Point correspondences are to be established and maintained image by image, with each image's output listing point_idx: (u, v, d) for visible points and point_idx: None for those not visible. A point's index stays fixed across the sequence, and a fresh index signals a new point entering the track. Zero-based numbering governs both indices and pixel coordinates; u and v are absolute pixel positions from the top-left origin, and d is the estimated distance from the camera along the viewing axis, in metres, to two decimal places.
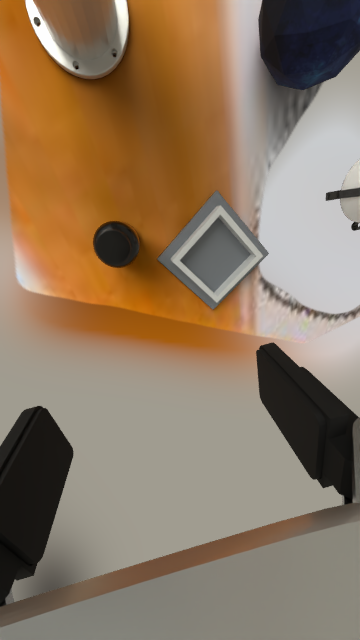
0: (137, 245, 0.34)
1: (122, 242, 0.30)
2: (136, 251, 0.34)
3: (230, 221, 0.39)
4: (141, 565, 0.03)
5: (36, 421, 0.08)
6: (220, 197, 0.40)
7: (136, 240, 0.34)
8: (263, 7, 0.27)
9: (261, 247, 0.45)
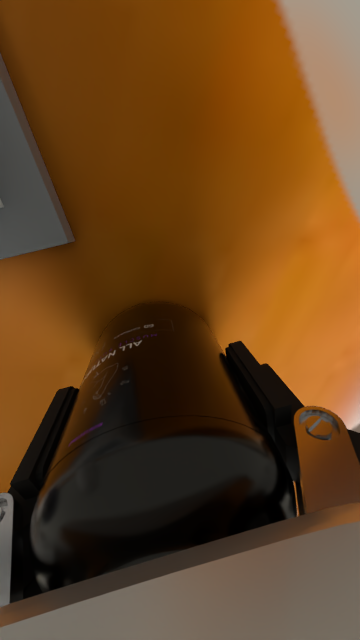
0: (41, 522, 0.04)
1: None
2: (67, 509, 0.04)
3: None
4: (141, 565, 0.03)
5: (71, 399, 0.09)
6: None
7: (31, 544, 0.05)
8: None
9: None
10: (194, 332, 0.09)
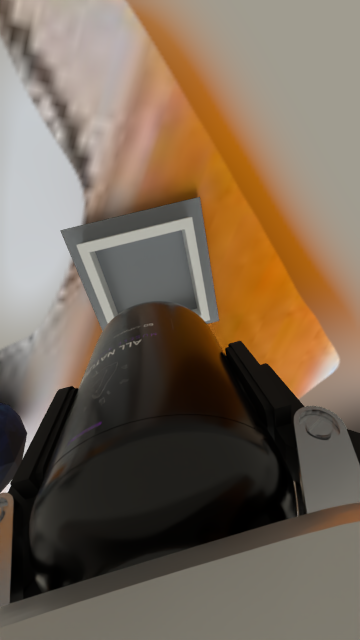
0: (40, 522, 0.04)
1: None
2: (66, 508, 0.04)
3: None
4: (141, 565, 0.03)
5: (71, 399, 0.09)
6: None
7: (30, 543, 0.05)
8: None
9: (71, 249, 0.26)
10: (194, 331, 0.09)
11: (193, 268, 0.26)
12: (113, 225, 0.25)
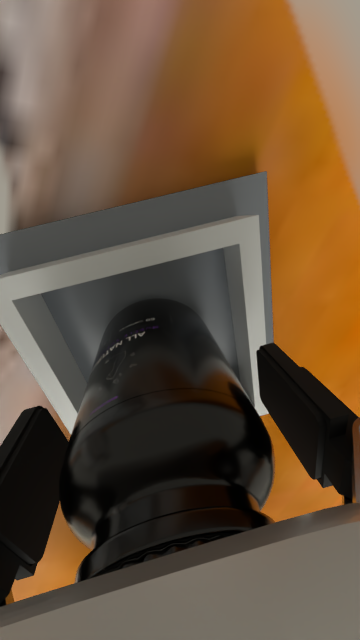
0: (72, 472, 0.06)
1: None
2: (94, 458, 0.05)
3: None
4: (141, 565, 0.03)
5: (36, 421, 0.08)
6: None
7: (63, 491, 0.06)
8: None
9: None
10: (190, 324, 0.10)
11: (249, 325, 0.12)
12: (75, 234, 0.11)
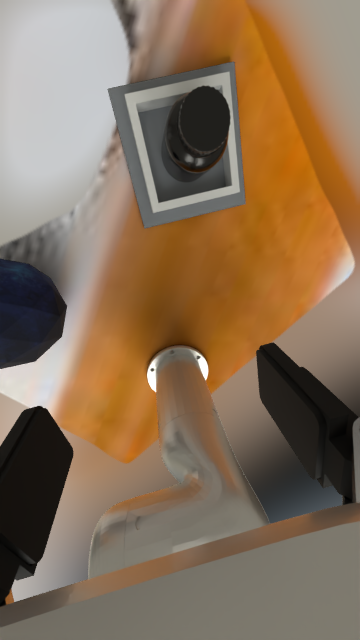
0: (172, 108, 0.22)
1: (189, 117, 0.20)
2: (179, 100, 0.22)
3: (150, 186, 0.30)
4: (141, 565, 0.03)
5: (36, 421, 0.08)
6: (143, 219, 0.33)
7: (169, 117, 0.22)
8: (62, 332, 0.33)
9: (116, 110, 0.28)
10: None
11: None
12: (155, 87, 0.28)
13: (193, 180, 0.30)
